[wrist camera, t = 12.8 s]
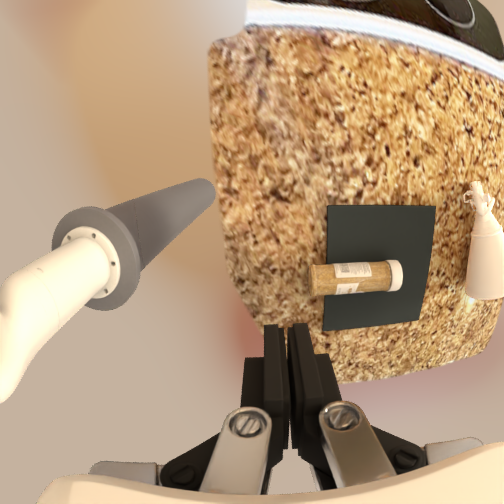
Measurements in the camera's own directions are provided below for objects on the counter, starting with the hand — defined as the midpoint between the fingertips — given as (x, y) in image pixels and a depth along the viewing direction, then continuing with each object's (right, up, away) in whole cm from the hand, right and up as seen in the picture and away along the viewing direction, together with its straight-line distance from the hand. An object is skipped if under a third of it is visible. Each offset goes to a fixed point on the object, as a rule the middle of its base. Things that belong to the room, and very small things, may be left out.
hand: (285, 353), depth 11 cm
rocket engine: (+39, +8, +27) cm, 48 cm away
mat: (+18, +1, +30) cm, 35 cm away
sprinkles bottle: (+6, 0, +28) cm, 29 cm away
